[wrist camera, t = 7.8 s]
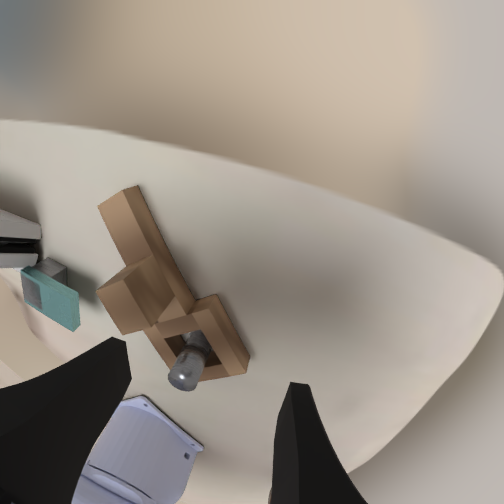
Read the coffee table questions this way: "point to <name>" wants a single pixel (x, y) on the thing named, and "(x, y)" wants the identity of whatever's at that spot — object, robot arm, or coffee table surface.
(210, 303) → the link
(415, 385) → the coffee table surface
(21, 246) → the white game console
